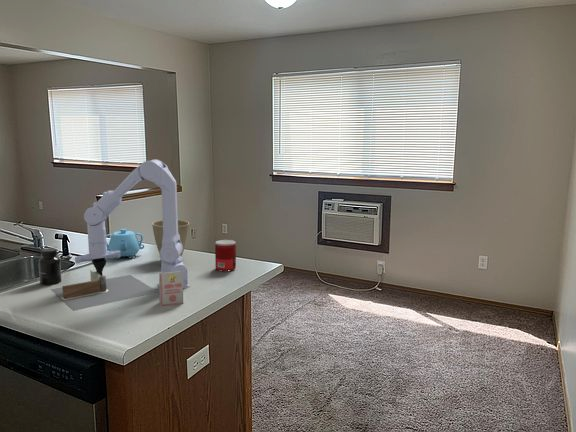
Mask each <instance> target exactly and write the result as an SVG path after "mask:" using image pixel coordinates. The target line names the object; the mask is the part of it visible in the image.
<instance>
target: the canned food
mask: <svg viewBox="0 0 576 432" xmlns="http://www.w3.org/2000/svg"><path fill="white" fill-rule="evenodd" d="M214 246H215V247H214V248H215V249H214V253H215V255H214V256H215V262H214V263H215V265H214V266H215V269H217V270H216V271H218V270H222V271H221V272H224V271H226V272H229V271H228V270H233V269H235V270H236V267H237V261H236V260H237V244H236V241H235V240H233V239H220V240H216V241H215V245H214ZM233 271H234V270H233Z"/></svg>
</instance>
